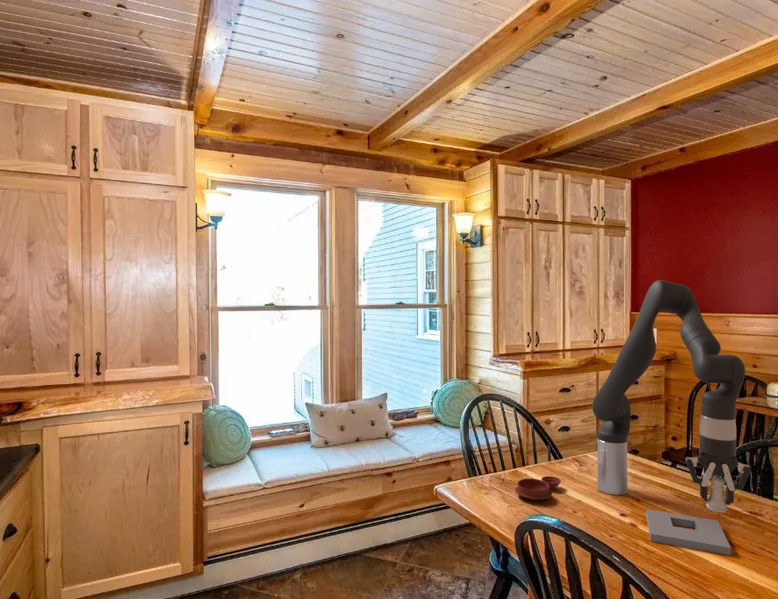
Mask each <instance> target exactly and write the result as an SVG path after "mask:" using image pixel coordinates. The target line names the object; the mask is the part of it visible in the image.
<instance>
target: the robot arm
mask: <svg viewBox="0 0 778 599" xmlns="http://www.w3.org/2000/svg"><path fill="white" fill-rule="evenodd" d="M695 298H696V297H695V296H694V294H693V292H692V290H691V289H690V288H689V287H688V286H686V285H684V284H680V283H676V282H672V281H667V280H663V279H657V280H655V281H654V282H653V283H652V284H651V285H650V286H649V287H648V289H647V292H646V294H645V297H644V299H643V302H642V303H641V304H642V305H641V307H640V310H639V313H638V315H637V316H636V320H635V322H634V324H633V326H632V328H631V331H630V333H628V334H629V335H628V337H627V338H626V340H625V342H624V344H623V345H622V347H621V349H620V352H619V354H618V356H617V358H616V360H615V363H614V365H613V366H612V368H611V370H610V372H609V374H608V376H607V378H606V379H605V381H604V382H603V385H601V388H600V389H599V390H598V392H597V393H596V395H595V397H594V399H593V400H592V406H591V407H592V412H593V414H594V416H595V418H597V419H598V420H600V421H603V424H602V425H601V426H600V427H599V428H598V429H597V434H596V435H597V437H596V438H597V461H596V462H597V464H596V465H597V466H596V467H597V468H596V469H597V479H596V480H597V481H596V482H597V486H596V487H597V488H596V489H597V491H598V492H599V491H600V492H603V493H605V494H610V495H616V496H621V495H623V496H624V495H626V494H627V493H628V436H629V434H630V431H631V414H632V413H631V403H630V400H629V398H628V397H627V396H626V395H625V394H626V393H627V391H628V390H629V389H630V388H631V386H632V385H634V384H635V383H636V382H637V381H638V380H639V379H640V378H641V377H642V376H643V375H644V374H645V373H646V372H647V370H648V368H649V367H650V365H651V363H652V361H653V359H654V358H655V356H656V353H657V343H656V342H657V341H656V337H655V333H654V326H655V325H654V324H655V322H656V319H657V316H658V315H659V312H664V313H668V314H672V315H676V316H677V317H679V319H680V320H681V321H682V322H681V323H682V324H681V326H680V330H679V332H680V333H679V334H680V337H681V341H682V342H683V344H684V346H685V347H686V348H687V350H688V352H689V353H690V357H691V361H692V368H693V374H694V376H695V377H696V378H697V379H698V380H699V381H701V382H703V383H706V384H720V385H719V386H718V387H717V388H716V389H714V390H710V391H709V390H708V391H706V392H704V393H702V395H701V400H700V402H701V403H700V404H701V406H700V408H701V409H700V421H699V429H698V431H699V451H698V454H697V455H696V456H694V457H690V456H686V457H685V462H686V465H687V467H688V471H689V474H690V477H691V479H692V481H693V483H695V484H698V485H699V495H700V498H701V499H702V500H703V502H707V501H708V499H709V496H708V495H709V494H708V493H709V492H708V491H709V490H708V489H709V488H708V484H709V482H710V480H709V479H710V478H711V476H712V475H714V476H715V475H716V476H719V477H722V478H723V479H724V482H725V485H726V487H725V499H724V500H725V502H726V504H727V506H731V504H733V503H734V502H735V499H734V498H735V491H736V490H741V491H742V490H744V488H745V486H746V484H747V482H748V479H749V477H750V475H751V472H752V468H751V467H750V466H749V465H748V464H746V463H745V464H744V463H741V462H739V461H738V459H737V425H736V424H737V423H736V404H737V400H738V397H739V393H740V392H741V391H740V390H741V388H742V385H743V382H744V380H745V376H746V367H745V364H744V362H743V360H742V359H741V358H740V357H739V356H736V355H732V354H720V352H721V349H722V348H721V343H720V342H719V340H718V339H717V338H716V337H715V335H714V334H713V332H712V331H711V330H710V328H709V326H708V325H707V324H706V322H705V320H704V318H703V316H702V313H701V310H700V308H699V306H698V303H697V301H696V299H695ZM698 462H699V464H700V465H701V466H702V468H703V469H702V472H701V476H698V475H697V472H696V469H695V468H696V467H697V466H698V465H697V463H698ZM735 469H737V471H738V472H739V473H738V476H737V478H736V480H735V481H734V482H733V479H732V476H731V474H732V473H733V471H735Z"/></svg>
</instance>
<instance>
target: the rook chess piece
mask: <svg viewBox="0 0 778 599" xmlns="http://www.w3.org/2000/svg"><path fill="white" fill-rule="evenodd" d="M709 482H710V483H711V485H710V488H711V489H710V495H709V496H708V501H706V504H705V505H706V507H707V509H709V510H710V511H712V512H715V513H726V512H727V511H728V510H729V509H728V508H727V507H728V505H727V504H726V502H725V499H724V490H725V489H724V488H725V487H724V485H725V484H726V481H725V479H724V477H723V476H719V475H711V478H710V479H709Z"/></svg>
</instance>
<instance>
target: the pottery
mask: <svg viewBox="0 0 778 599" xmlns="http://www.w3.org/2000/svg"><path fill="white" fill-rule="evenodd" d="M561 482H562V480H561V479H560V478H559V477H556V476H555V477H554V476H543V477H541V479H538V478H523V479H520V480H518V481H517V486H516V487H515V490H514V491H515V493H516V494H517V495H519V496H520V497H522V498H525V497H526V498H528V499H530V500H529V501H531V500H535V501H534V502H539V501H538V500H540V501H542V500H546V499H549V498H550V497H552V496H553V492H552V490H549V489H555V488H557V487H558V486H559V485H560V484H561ZM555 490H556V489H555ZM526 498H525V499H526ZM528 499H527V500H528ZM541 499H542V500H541Z"/></svg>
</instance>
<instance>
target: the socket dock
mask: <svg viewBox="0 0 778 599" xmlns="http://www.w3.org/2000/svg"><path fill="white" fill-rule="evenodd" d="M645 518H646V522H647V523H646V524H647V528H648V534H649V539H650V540H649V541H650V542H654V543H659V544H665V545H669V546H670V545H671V546H675V547H676V546H677V547H680V548H686V549H691V548H692V550H697V549H698V551H702V552H709V553H713V552H714V553H715V554H719V553H720V554H719V555H725V556H732V546H731V545H730V543H729V541H728V539H727V537H726V535H725V533H724V531H723V529H722V527H721V525H720V523H719V521H718V520H715V519H709V518H703V517H702V518H701V517H697V516H690V515H683V514H678V513H672V512H665V511H659V510H654V509H653V510H652V509H645ZM678 526H679V527H678ZM684 527H686V528H684ZM691 528H692V529H691Z"/></svg>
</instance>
